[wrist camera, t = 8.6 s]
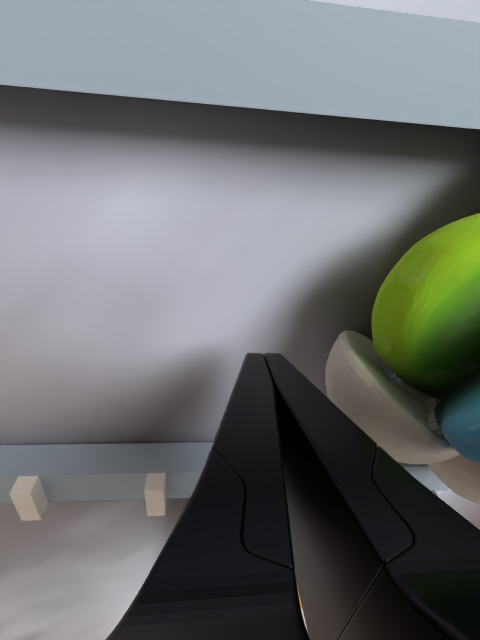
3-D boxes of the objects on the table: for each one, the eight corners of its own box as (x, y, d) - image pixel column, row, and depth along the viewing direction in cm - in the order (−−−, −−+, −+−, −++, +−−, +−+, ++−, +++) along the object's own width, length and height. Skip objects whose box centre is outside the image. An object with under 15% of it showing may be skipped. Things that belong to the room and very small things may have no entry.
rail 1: (663, 63, 7) (737, 56, 6) (617, 141, 8) (676, 148, 7) (-491, -81, 5) (-664, -126, 4) (-400, 47, 6) (-526, 35, 5)
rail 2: (443, 439, 14) (473, 481, 12) (429, 462, 14) (455, 505, 13) (-116, 446, 11) (-165, 499, 10) (-96, 474, 12) (-139, 526, 11)
